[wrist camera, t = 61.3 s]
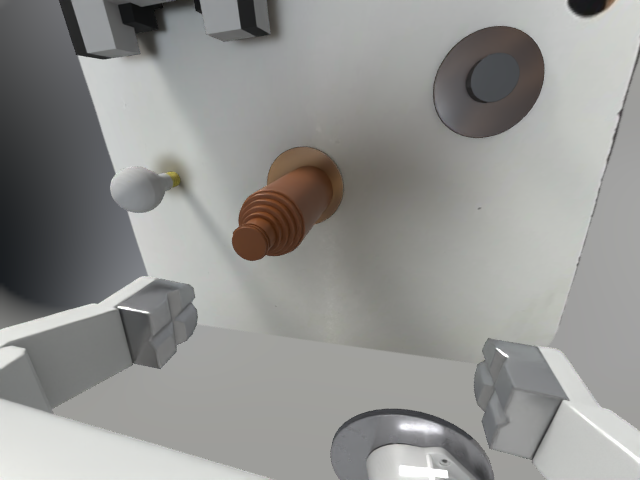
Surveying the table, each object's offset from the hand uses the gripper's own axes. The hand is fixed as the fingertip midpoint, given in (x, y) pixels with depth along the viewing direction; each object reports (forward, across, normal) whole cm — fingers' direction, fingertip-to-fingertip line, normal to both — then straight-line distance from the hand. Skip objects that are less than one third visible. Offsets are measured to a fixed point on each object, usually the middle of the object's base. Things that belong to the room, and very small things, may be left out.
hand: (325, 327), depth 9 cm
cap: (+28, -10, -9) cm, 31 cm away
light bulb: (+31, +28, +5) cm, 42 cm away
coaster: (+31, +9, +4) cm, 33 cm away
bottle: (+30, +8, +4) cm, 32 cm away
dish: (+31, -10, -8) cm, 34 cm away
